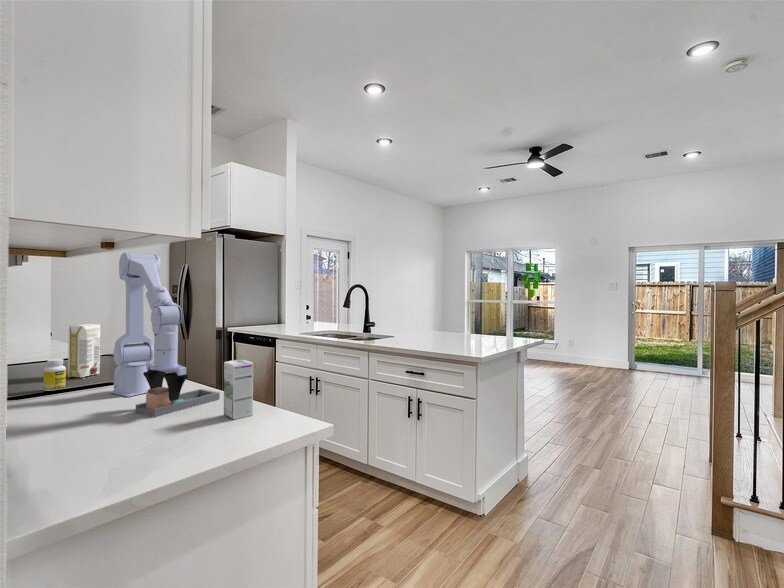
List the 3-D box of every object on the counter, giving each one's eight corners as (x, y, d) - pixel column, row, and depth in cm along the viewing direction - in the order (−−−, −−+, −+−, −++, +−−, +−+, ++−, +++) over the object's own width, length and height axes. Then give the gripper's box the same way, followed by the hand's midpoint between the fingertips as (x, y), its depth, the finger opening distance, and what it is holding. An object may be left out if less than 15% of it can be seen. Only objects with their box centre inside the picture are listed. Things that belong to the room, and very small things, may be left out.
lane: (135, 411, 109) (135, 404, 109) (200, 395, 127) (200, 388, 126) (155, 417, 105) (155, 409, 105) (219, 399, 123) (219, 392, 123)
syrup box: (253, 415, 108) (254, 361, 108) (232, 420, 104) (233, 364, 104) (243, 410, 112) (244, 358, 112) (222, 415, 108) (223, 361, 107)
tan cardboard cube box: (145, 411, 109) (146, 389, 109) (161, 407, 113) (162, 386, 113) (156, 414, 107) (156, 392, 107) (172, 410, 111) (172, 388, 111)
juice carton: (103, 374, 151) (104, 324, 151) (81, 379, 143) (82, 326, 143) (86, 373, 153) (87, 323, 152) (64, 378, 144) (64, 325, 144)
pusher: (160, 406, 113) (160, 397, 113) (176, 401, 118) (176, 393, 118) (173, 409, 111) (173, 400, 111) (189, 404, 115) (190, 396, 115)
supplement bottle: (55, 392, 125) (56, 361, 125) (38, 392, 125) (39, 361, 125) (70, 388, 131) (70, 358, 131) (53, 388, 131) (53, 358, 131)
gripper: (135, 348, 111) (134, 397, 111) (169, 353, 105) (168, 405, 105) (160, 345, 117) (159, 391, 118) (193, 350, 111) (192, 399, 111)
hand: (165, 398), depth 112 cm, fingers open, 7 cm apart
